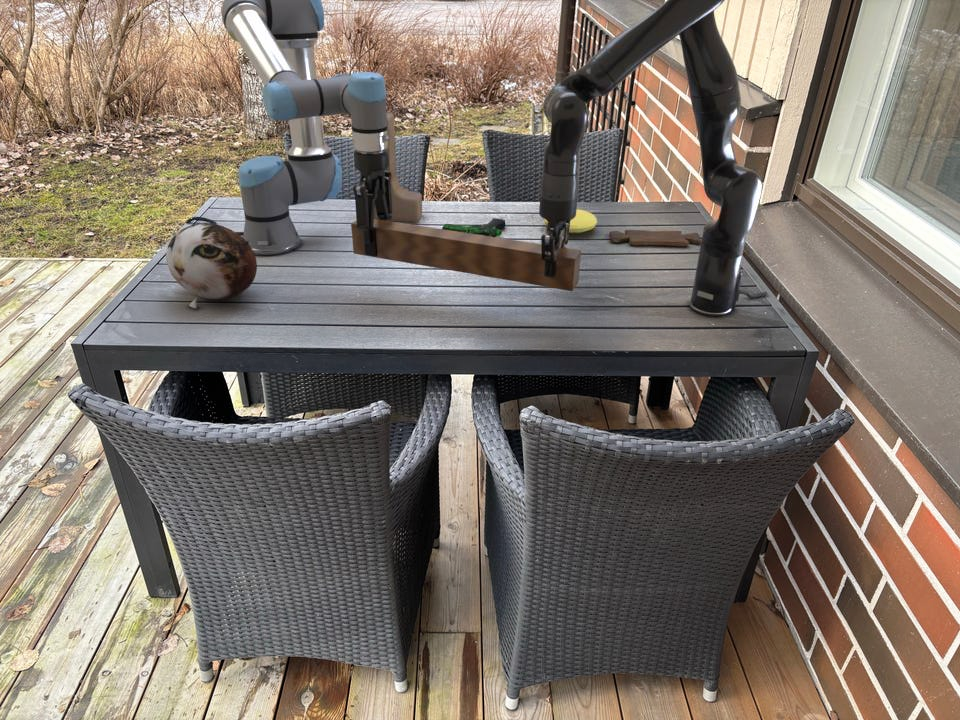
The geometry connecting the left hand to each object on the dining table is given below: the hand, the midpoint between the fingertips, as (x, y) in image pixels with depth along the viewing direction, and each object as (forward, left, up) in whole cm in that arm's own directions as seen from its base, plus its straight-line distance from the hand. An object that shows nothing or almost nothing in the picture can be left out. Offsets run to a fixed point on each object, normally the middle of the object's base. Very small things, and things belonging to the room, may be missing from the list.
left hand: (377, 250), depth 166 cm
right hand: (+42, +9, +2) cm, 42 cm away
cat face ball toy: (-30, -23, -11) cm, 39 cm away
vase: (+18, +65, -11) cm, 69 cm away
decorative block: (-30, +43, -11) cm, 54 cm away
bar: (+21, +4, -1) cm, 21 cm away
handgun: (-4, +47, -11) cm, 49 cm away
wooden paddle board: (+42, +71, -11) cm, 84 cm away
